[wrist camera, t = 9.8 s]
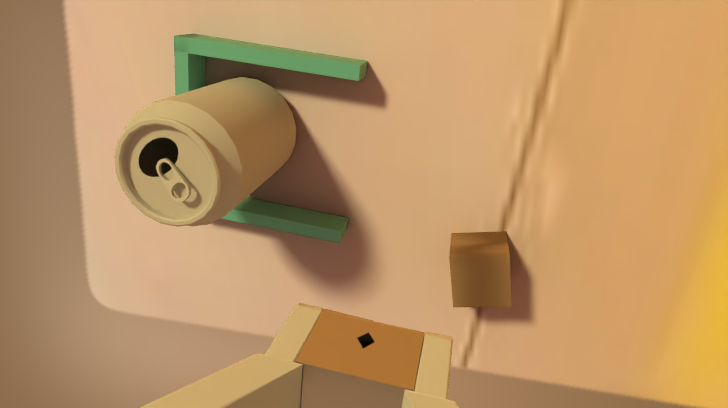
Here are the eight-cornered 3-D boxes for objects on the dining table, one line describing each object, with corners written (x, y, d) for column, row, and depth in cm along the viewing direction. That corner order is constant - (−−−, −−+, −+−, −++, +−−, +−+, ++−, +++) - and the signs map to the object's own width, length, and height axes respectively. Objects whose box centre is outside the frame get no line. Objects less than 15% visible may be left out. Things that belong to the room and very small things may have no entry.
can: (255, 53, 35) (159, 75, 24) (320, 137, 37) (256, 193, 26) (188, 114, 38) (75, 158, 27) (251, 190, 40) (167, 261, 29)
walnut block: (506, 230, 37) (509, 255, 33) (507, 278, 38) (511, 307, 34) (451, 232, 38) (449, 257, 34) (454, 279, 39) (453, 307, 35)
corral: (367, 61, 34) (360, 65, 32) (346, 229, 39) (339, 243, 37) (192, 33, 36) (174, 35, 33) (194, 198, 41) (178, 209, 39)
